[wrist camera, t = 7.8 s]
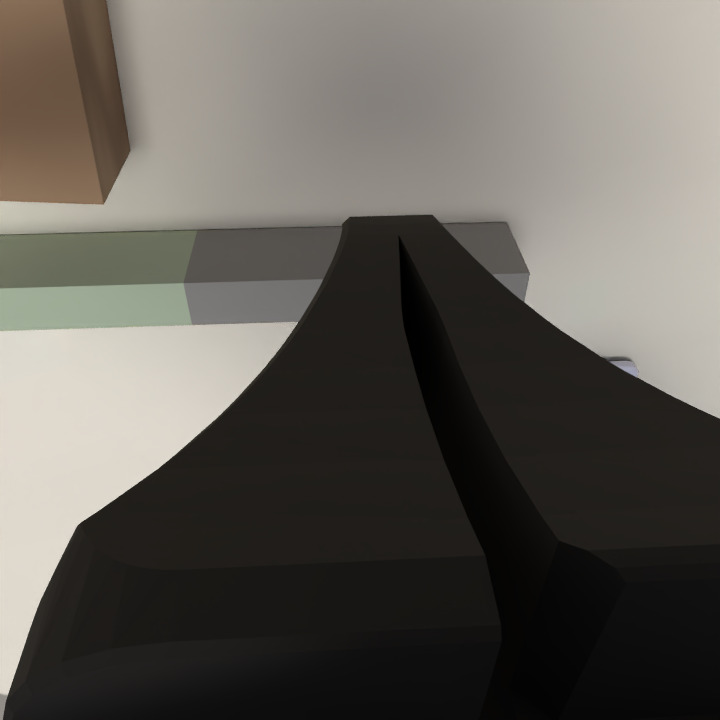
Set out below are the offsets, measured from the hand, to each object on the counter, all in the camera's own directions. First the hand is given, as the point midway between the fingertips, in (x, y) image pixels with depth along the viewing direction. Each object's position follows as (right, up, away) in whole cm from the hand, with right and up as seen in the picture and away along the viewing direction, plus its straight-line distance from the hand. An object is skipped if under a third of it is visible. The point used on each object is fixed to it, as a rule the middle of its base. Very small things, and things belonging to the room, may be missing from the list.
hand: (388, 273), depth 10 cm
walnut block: (-10, +7, +7) cm, 14 cm away
